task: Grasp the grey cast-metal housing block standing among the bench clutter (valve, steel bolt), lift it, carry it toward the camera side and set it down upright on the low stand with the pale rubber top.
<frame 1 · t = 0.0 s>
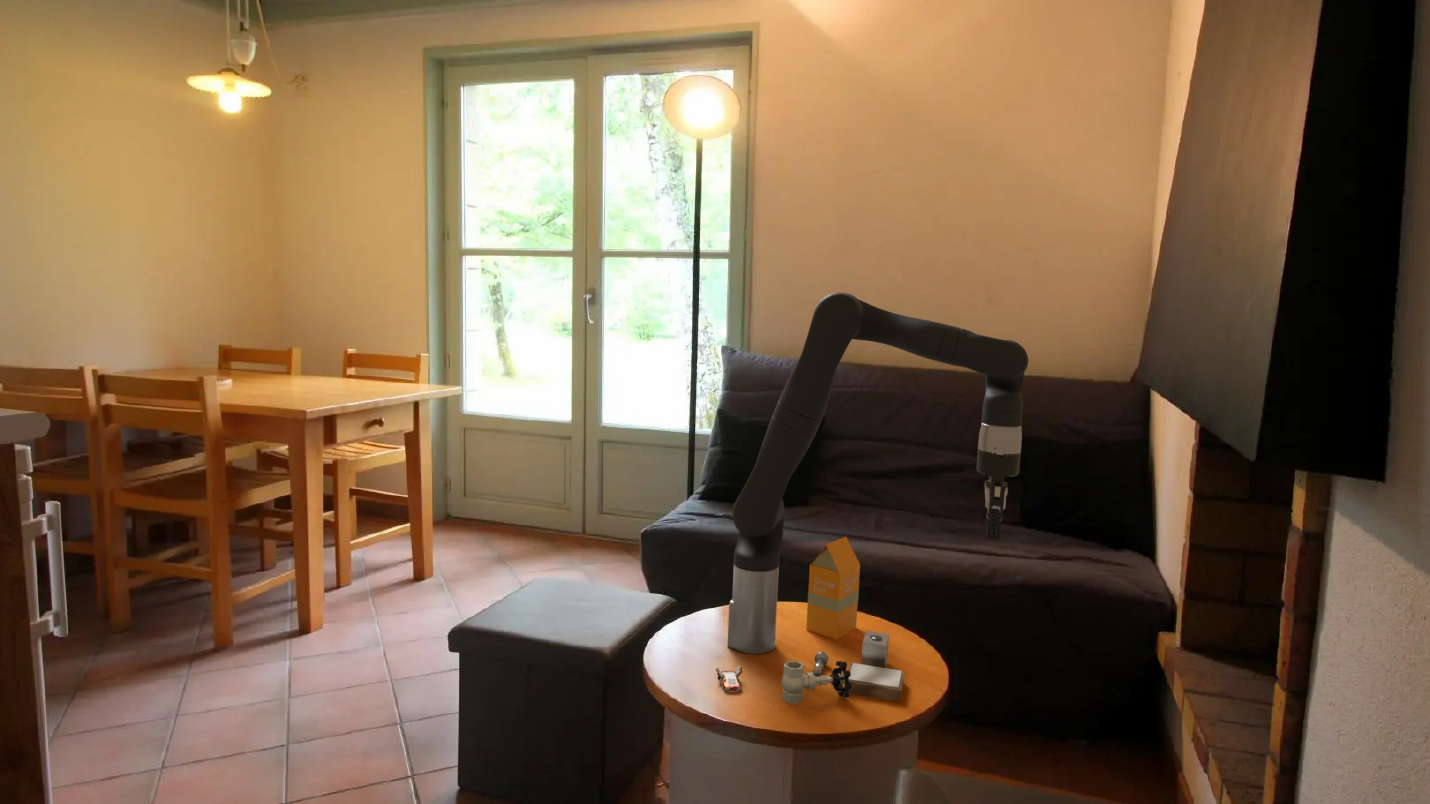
hand: (992, 533, 159), 29 cm above the table, fingers open, 8 cm apart
orange juice: (831, 629, 186), on the table
stand: (874, 687, 158), on the table
housing: (874, 667, 167), on the table
steel bolt: (818, 671, 164), on the table
toy car: (729, 685, 158), on the table
valve: (812, 699, 154), on the table
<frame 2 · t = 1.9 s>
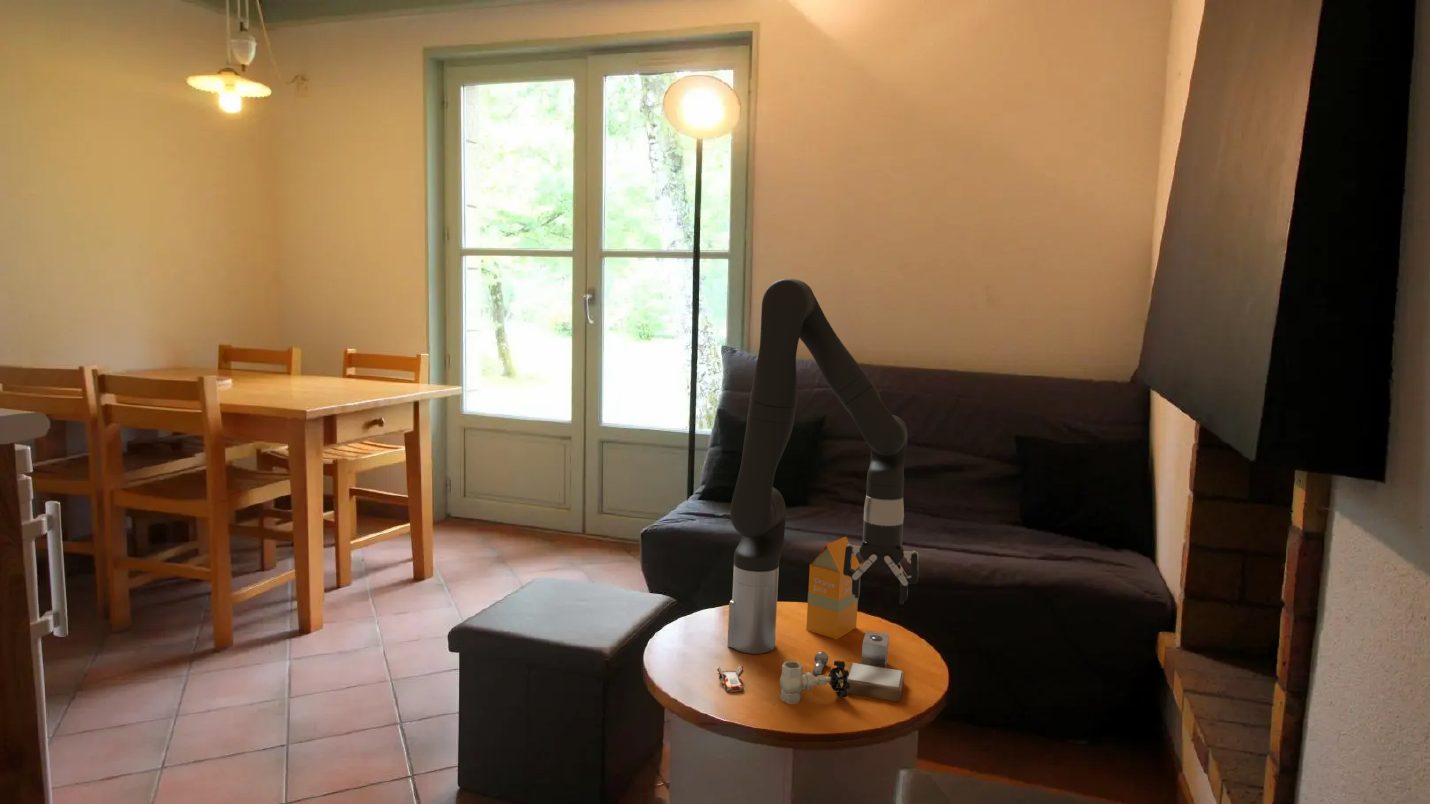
hand: (879, 599, 165), 14 cm above the table, fingers open, 8 cm apart
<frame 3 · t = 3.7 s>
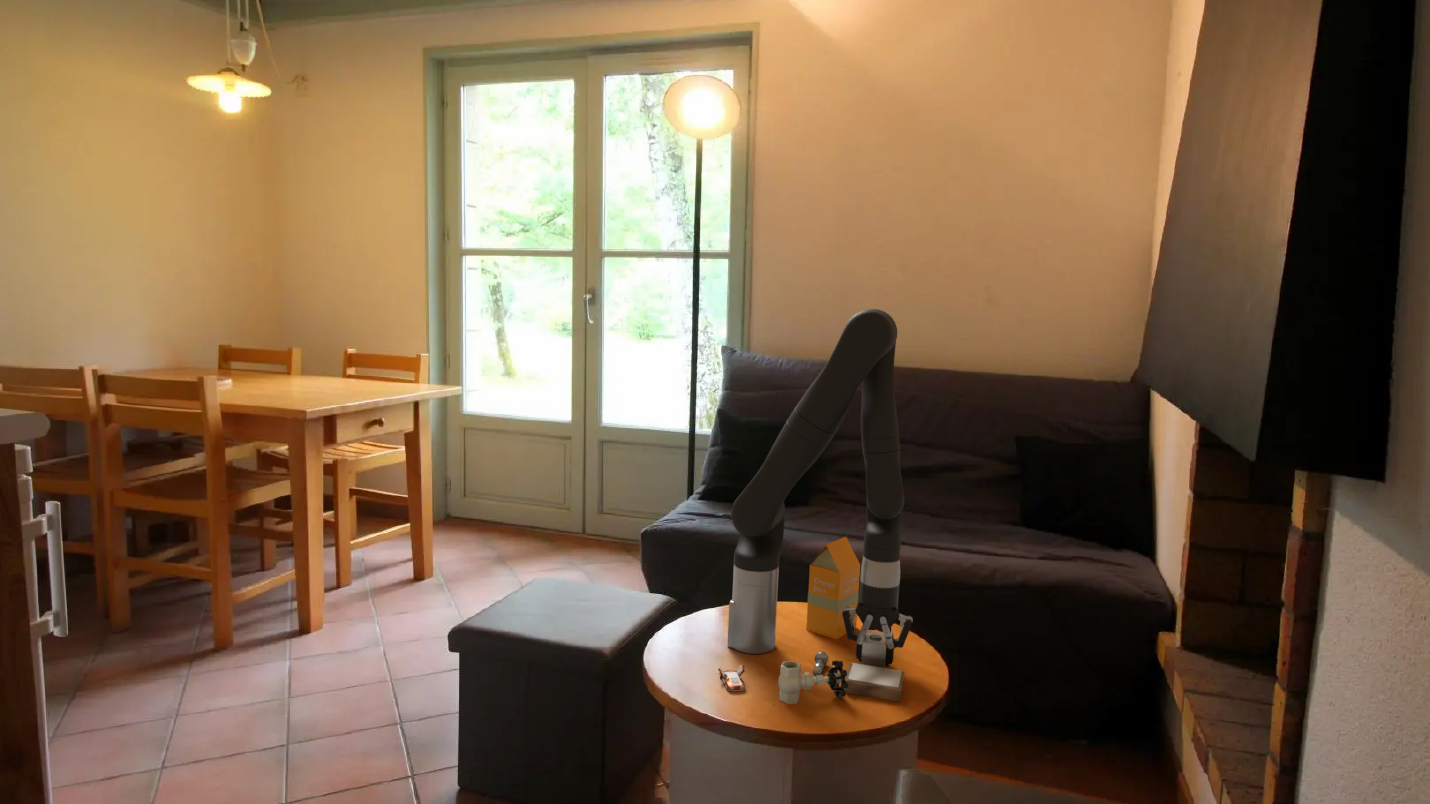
hand: (874, 662, 167), 1 cm above the table, fingers closed on housing, 4 cm apart
housing: (873, 666, 167), on the table, touching gripper
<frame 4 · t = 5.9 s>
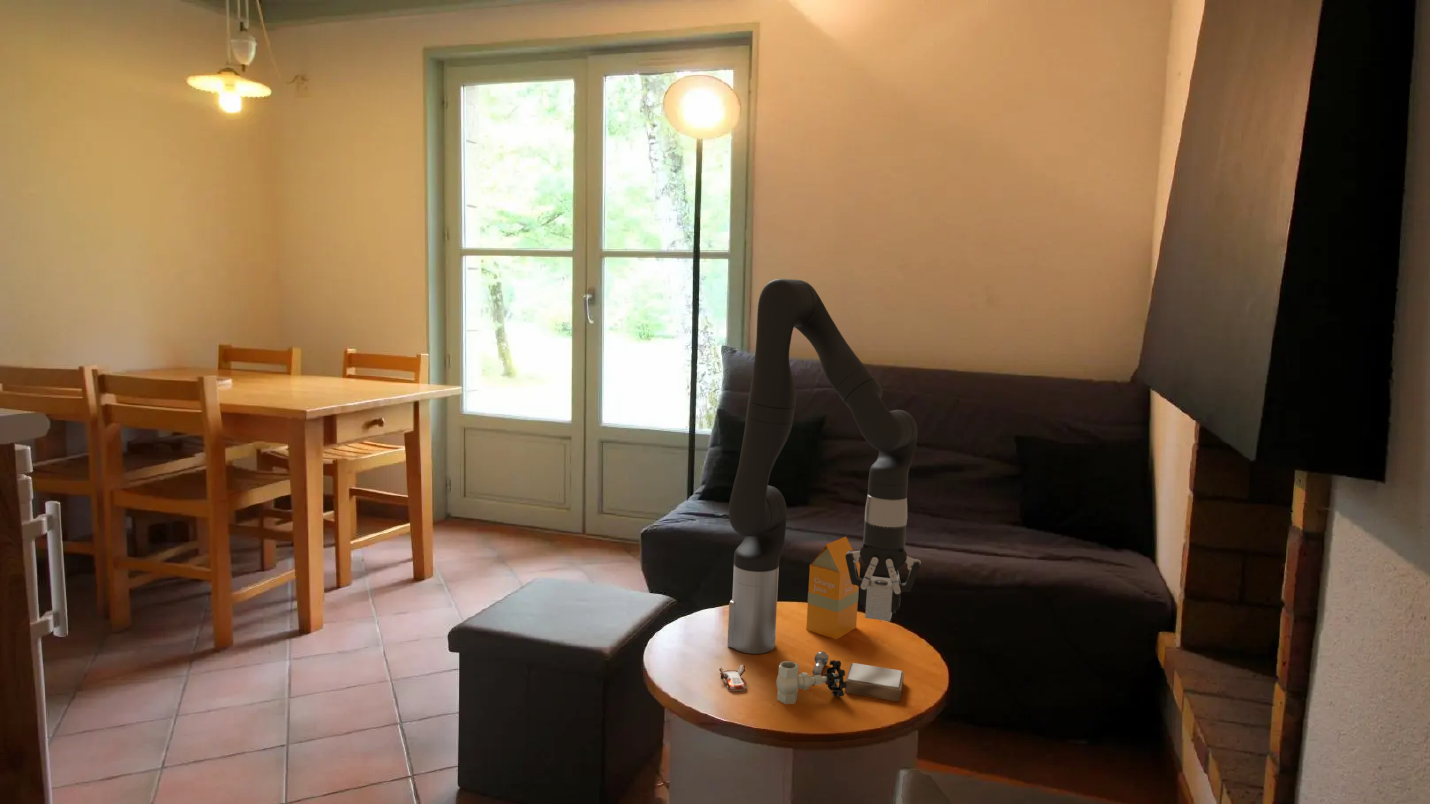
hand: (879, 609, 156), 15 cm above the table, fingers closed on housing, 4 cm apart
housing: (879, 613, 157), point 14 cm above the table, touching gripper
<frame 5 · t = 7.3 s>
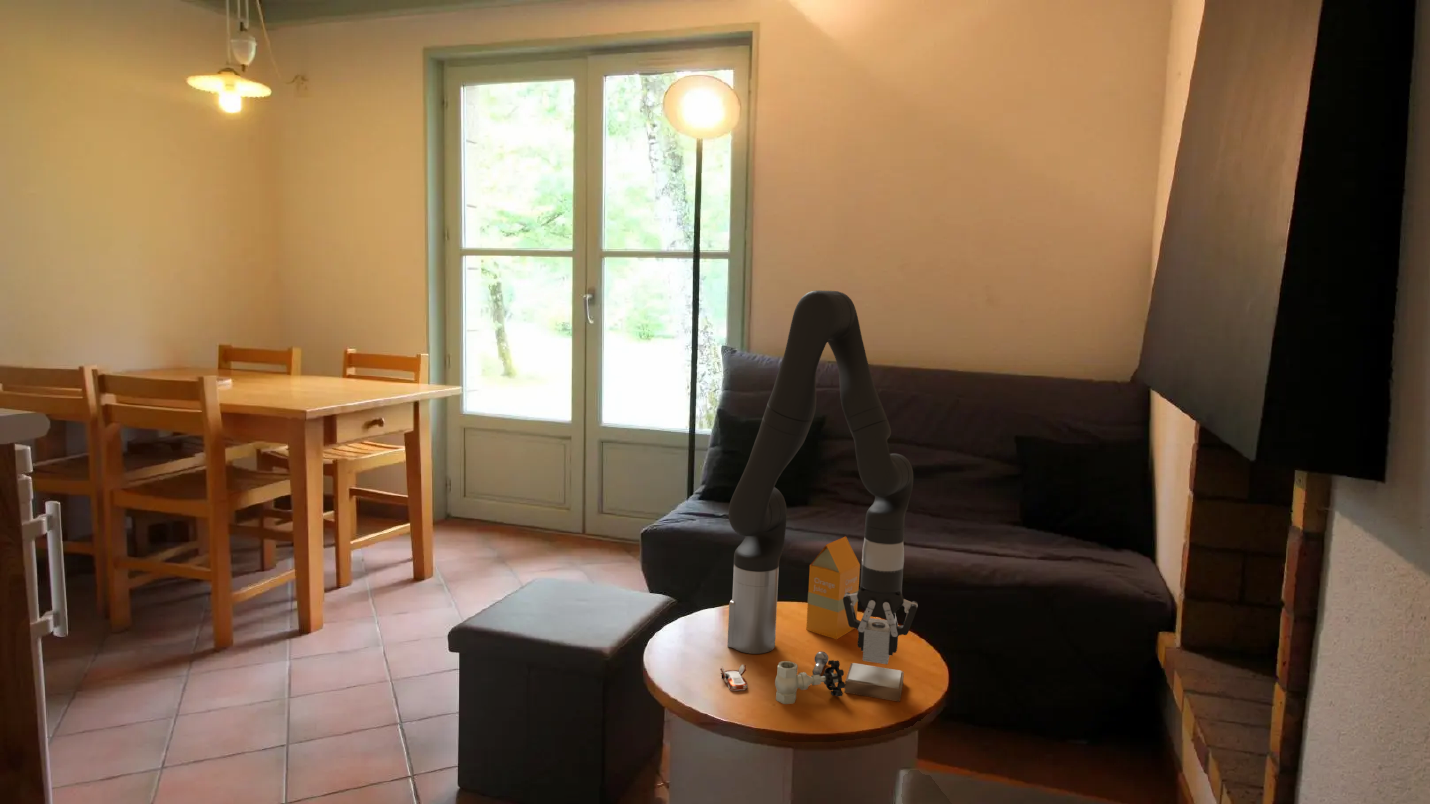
hand: (877, 651, 157), 7 cm above the table, fingers closed on housing, 4 cm apart
housing: (876, 655, 157), point 6 cm above the table, touching gripper
when the fingers open (4 cm above the table, at t = 8.2 s): housing drops 1 cm, resting on stand.
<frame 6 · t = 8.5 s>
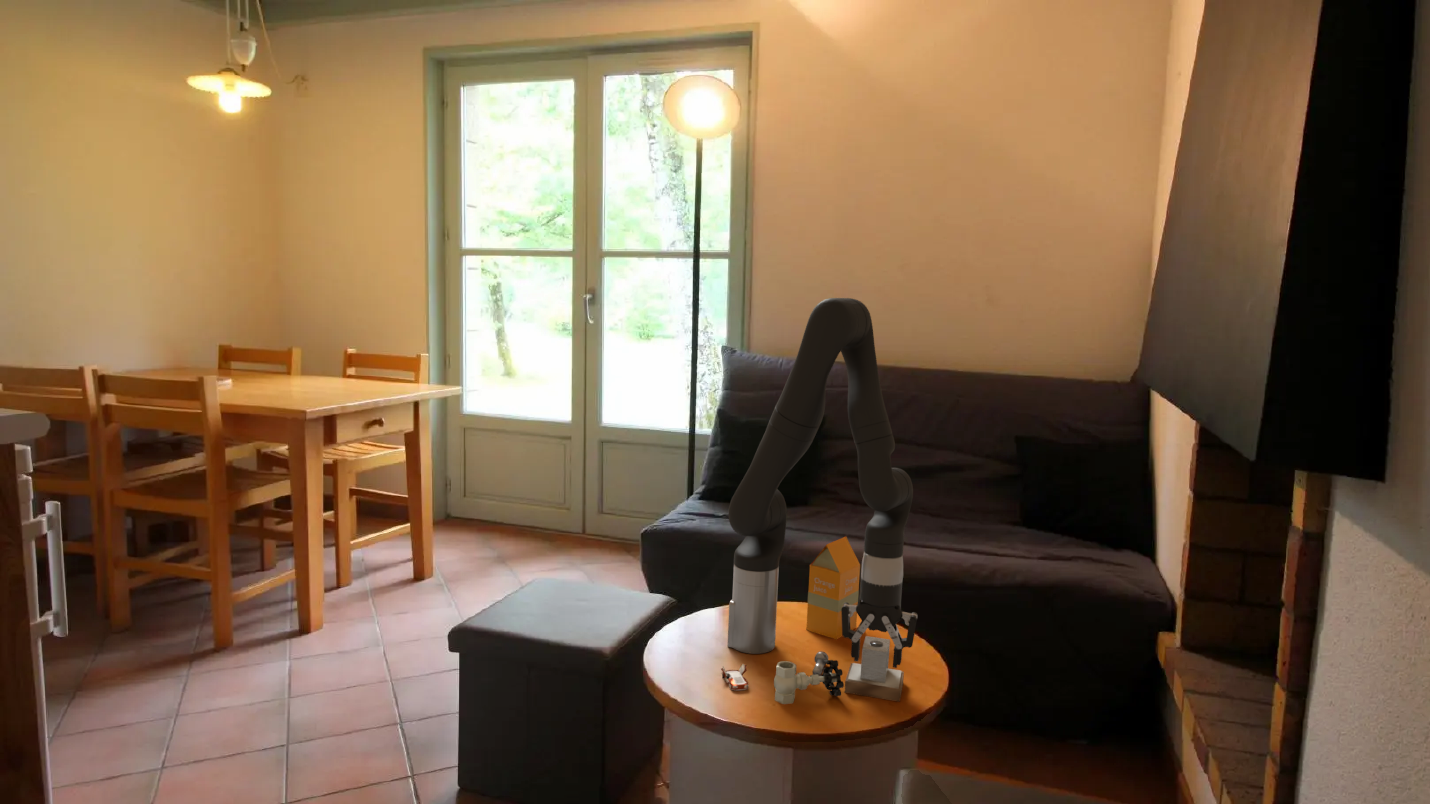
hand: (875, 662, 158), 5 cm above the table, fingers open, 6 cm apart
housing: (874, 674, 158), point 2 cm above the table, touching stand
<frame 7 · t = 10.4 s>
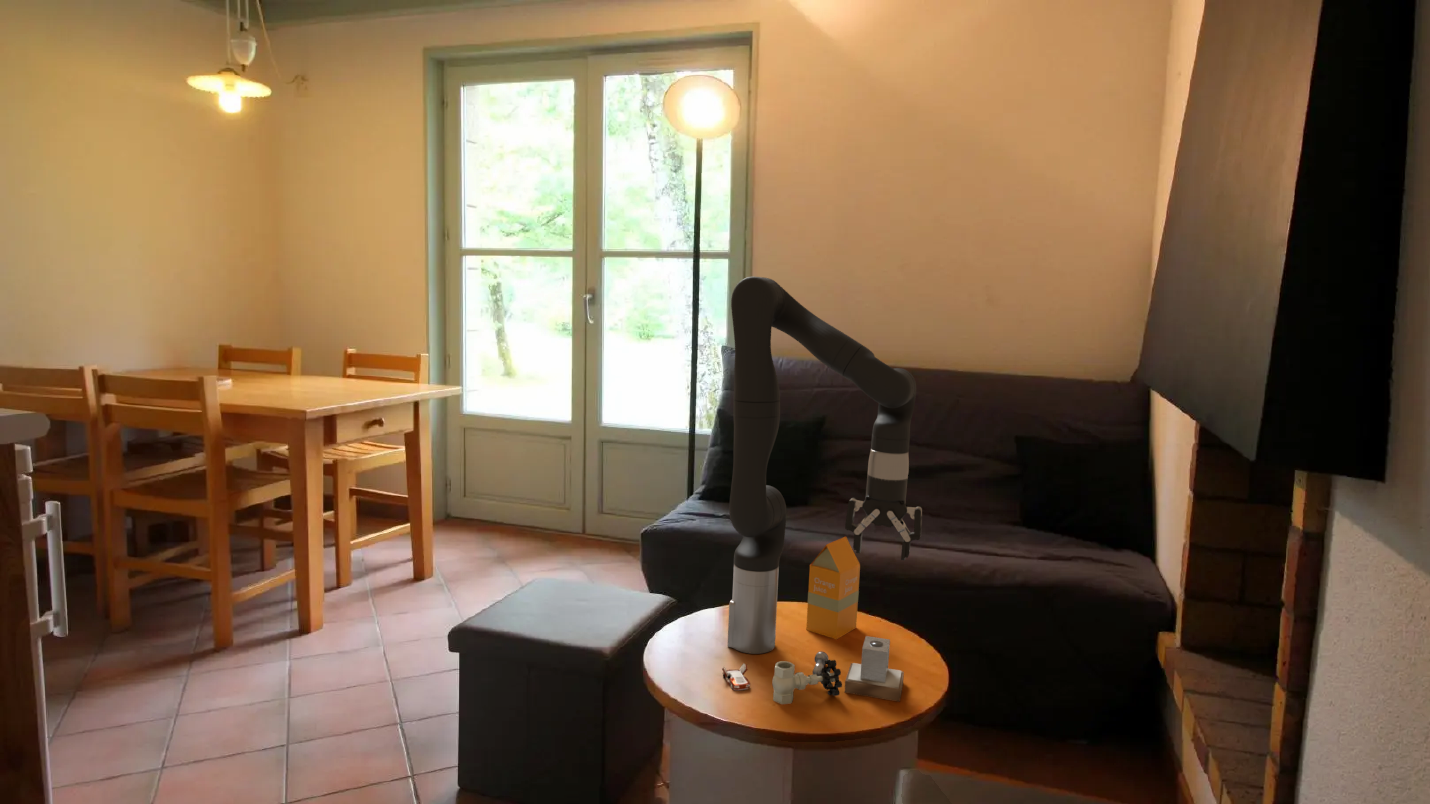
hand: (880, 555, 163), 23 cm above the table, fingers open, 8 cm apart
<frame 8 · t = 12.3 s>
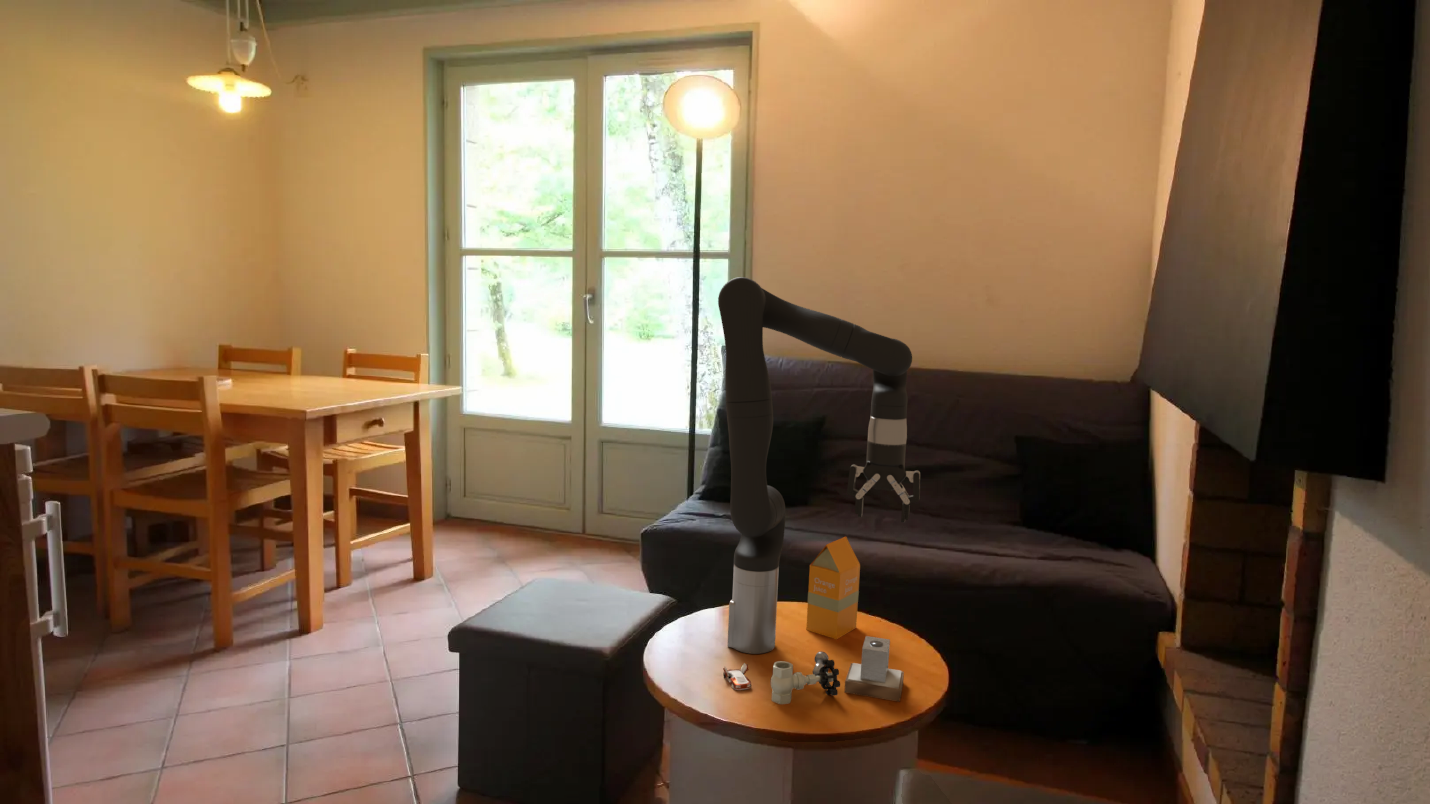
hand: (881, 518, 170), 28 cm above the table, fingers open, 8 cm apart
at the end: housing inside the target area on the stand (0.1 cm from its centre), point 2.5 cm above the stand's base; housing tilted 0°; the gripper is holding nothing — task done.
